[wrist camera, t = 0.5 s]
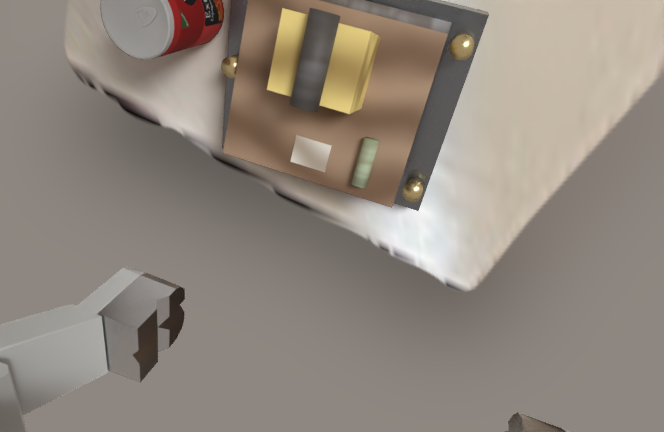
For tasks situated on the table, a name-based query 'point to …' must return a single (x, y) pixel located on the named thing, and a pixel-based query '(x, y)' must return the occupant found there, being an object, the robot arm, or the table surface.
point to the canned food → (160, 24)
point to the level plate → (341, 129)
